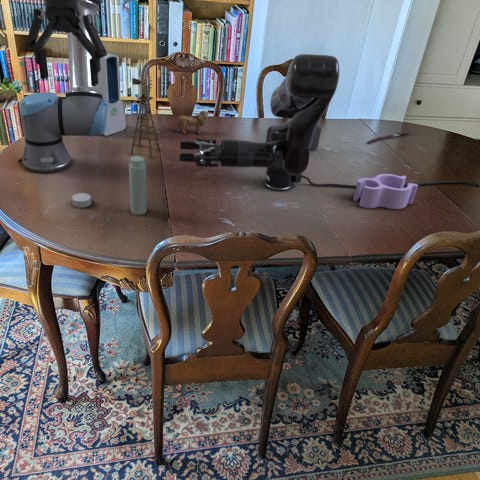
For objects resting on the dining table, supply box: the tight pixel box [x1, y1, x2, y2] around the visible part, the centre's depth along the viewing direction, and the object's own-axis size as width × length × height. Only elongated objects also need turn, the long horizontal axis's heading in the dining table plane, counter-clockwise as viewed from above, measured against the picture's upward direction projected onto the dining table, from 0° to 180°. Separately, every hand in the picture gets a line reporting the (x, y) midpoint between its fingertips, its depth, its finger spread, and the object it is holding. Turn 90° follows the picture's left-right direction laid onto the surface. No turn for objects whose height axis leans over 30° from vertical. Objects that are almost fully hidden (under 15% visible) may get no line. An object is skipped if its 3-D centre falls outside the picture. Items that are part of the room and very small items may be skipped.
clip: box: [352, 173, 419, 210], centre depth 157 cm, size 20×12×7 cm, turn 109°
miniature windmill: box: [130, 70, 160, 158], centre depth 168 cm, size 9×8×30 cm
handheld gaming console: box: [265, 125, 322, 151], centre depth 189 cm, size 23×3×10 cm, turn 108°
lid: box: [71, 192, 92, 209], centre depth 139 cm, size 5×5×2 cm
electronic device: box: [97, 52, 127, 137], centre depth 182 cm, size 12×8×30 cm, turn 148°
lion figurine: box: [173, 110, 209, 135], centre depth 195 cm, size 15×5×9 cm, turn 110°
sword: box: [367, 132, 410, 144], centre depth 214 cm, size 31×3×1 cm, turn 126°
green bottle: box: [128, 155, 148, 216], centre depth 134 cm, size 5×5×17 cm
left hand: (69, 81), depth 121 cm, fingers open, 13 cm apart
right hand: (180, 150), depth 130 cm, fingers open, 8 cm apart
